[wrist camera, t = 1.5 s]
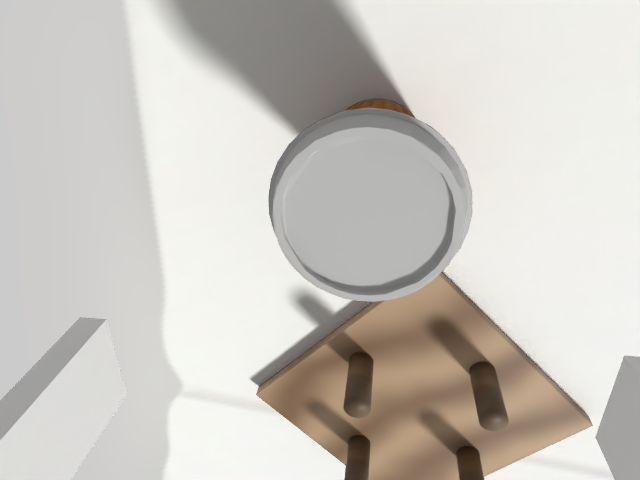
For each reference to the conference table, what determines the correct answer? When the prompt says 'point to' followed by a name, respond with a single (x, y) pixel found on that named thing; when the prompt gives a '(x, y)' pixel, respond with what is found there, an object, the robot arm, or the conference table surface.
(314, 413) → the holder
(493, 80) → the conference table surface
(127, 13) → the conference table surface
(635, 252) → the conference table surface
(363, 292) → the disposable coffee cup
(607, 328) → the conference table surface
